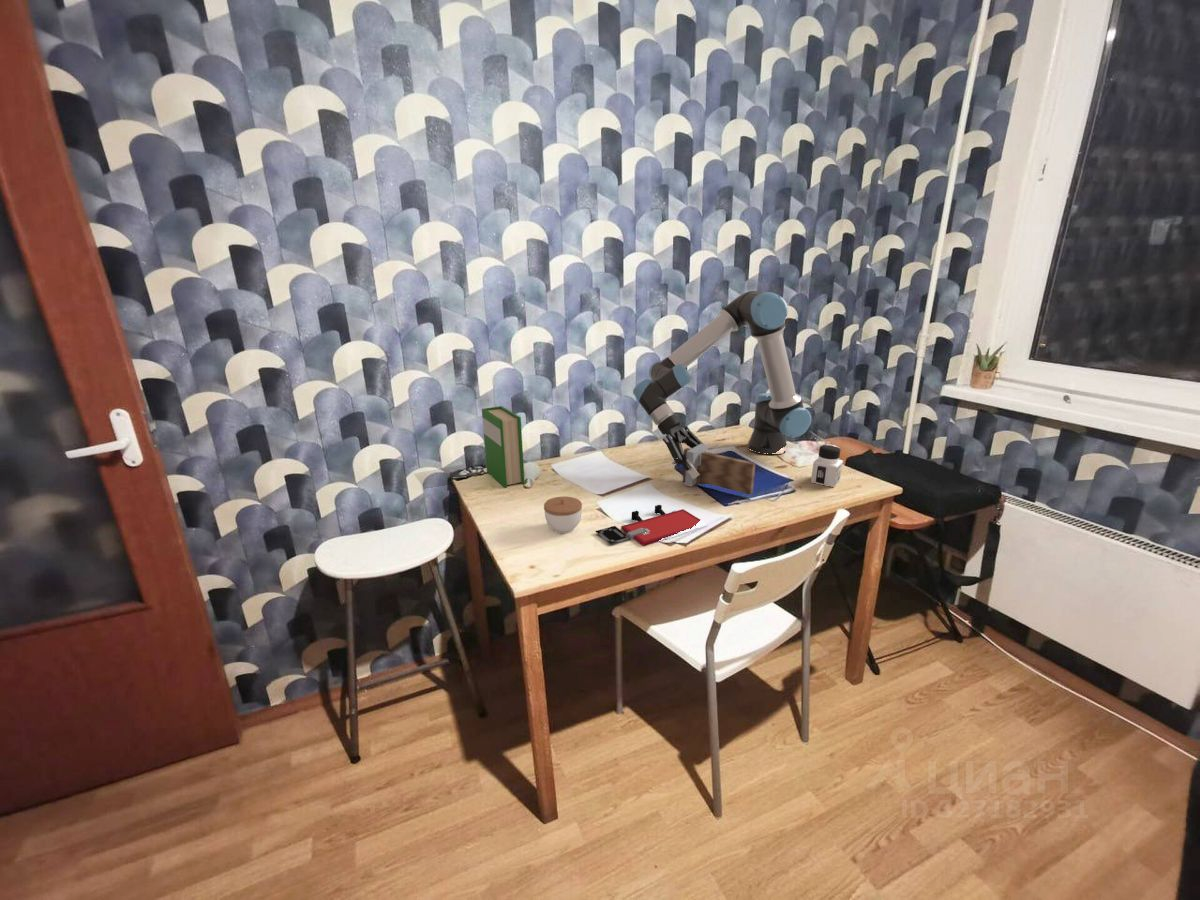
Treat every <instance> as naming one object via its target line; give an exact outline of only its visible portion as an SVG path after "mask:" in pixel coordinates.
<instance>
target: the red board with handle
mask: <svg viewBox="0 0 1200 900" xmlns="http://www.w3.org/2000/svg"><path fill="white" fill-rule="evenodd" d="M655 513H656V514H655ZM657 513H659V515H658V514H657ZM654 514H655V515H657V516H653V517H650V518H649V517H648V518H647V519H646V518H645V519H643V518H641V516H639V515H640V512H639V511H638V510H634V511H632V512H631V520H632V521H633V520H634V522H632V523H627V524H625V525H621V526H620V528H618V526H616V525H612V526H609V527H605V528H602V529H598V530H595V533H597V534H598V535H599V536H600V537H602V538H603V540H605V541H606V542H608V543H609V544H610V545H613V544H616V543H621V542H623V541H626V540H630V541H633V540H634V541H636V542H637V543H638V544H640V545H641V546H643V547H646V546H649V545H650V546H651V545H652V544H655V543H659V542H660V541H659V540H661V539H662V538H665V537H668V536H671V535H674V534H677V533H678V532H680V531H684V530H686V529H689V528H690V529H691V528H692V527H693V526H694V525H695V526H696V524H697V523H698V522H699V521H700V520H701V519H700V518H698V517H697V516H695V515H694V514H693V513H691V512H689V511H687V510H685V509H678V510H675V511H672V512H671V511H670V512H668V513H666V512H665V511H664V510H663V505H661V504H657V505H654ZM645 532H646V533H645ZM676 532H677V533H676ZM658 541H659V542H658Z"/></svg>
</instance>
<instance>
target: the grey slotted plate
mask: <svg viewBox="0 0 1200 900" xmlns="http://www.w3.org/2000/svg"><path fill="white" fill-rule="evenodd" d="M708 445H709V444H705V443H703V444H699V445H697V446H696V447H694V448H690V450H688V451H687V456H686V460H687V459H689V461H690V462H691V463H692V465H693V466H694V467H695V469H696V470H697V467H700V468H701V453H703V452H708ZM696 481H697V477H696V478H695V479H693V478H692V477H691V476H690V474H689V473H688V472H687V470H686V477H685V483H684V485H685V486H687V487H688V486H689V487H693V486H696V485H695V484H696Z"/></svg>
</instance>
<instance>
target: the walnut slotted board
mask: <svg viewBox="0 0 1200 900" xmlns="http://www.w3.org/2000/svg"><path fill="white" fill-rule="evenodd" d="M690 449H691V448H690V447H687V448H683V451H684V454H685V457H686V456H687V451H688V450H690ZM682 468H683V469H682V483H684V484H685V477H686V469H685V468H684V467H683V466H682ZM697 471H698V473H699V474H700V475H699V476H697V481H696V484H695V485H694V486H697V487H699V486H698V484H711V485H716V486H720V487H723V488H727V489H731V490H734V491H739V492H743V493H746V494H750V495H751V493H753V494H754V484H755V473H756V462H755V461H754V462H753V461H748V460H744V459H739V458H735V457H731V456H726V455H722V454H721V455H720V454H716V453H712V452H708V451H707V452H703V453H701V468H700V467H697Z"/></svg>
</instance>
